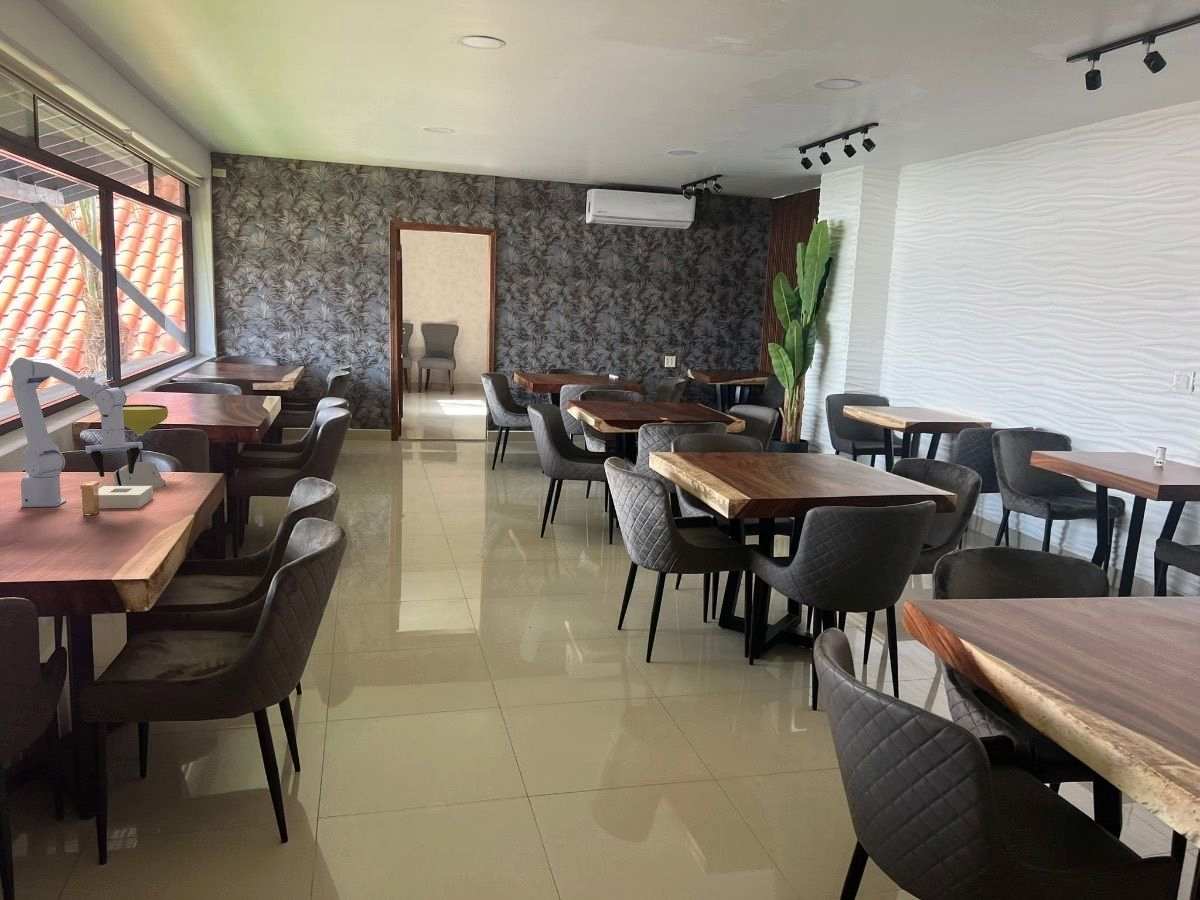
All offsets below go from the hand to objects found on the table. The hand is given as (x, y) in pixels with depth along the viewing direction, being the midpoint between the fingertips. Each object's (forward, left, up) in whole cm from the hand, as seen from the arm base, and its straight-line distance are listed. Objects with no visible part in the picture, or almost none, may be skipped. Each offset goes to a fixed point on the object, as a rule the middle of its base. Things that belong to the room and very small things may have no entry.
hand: (116, 474), depth 247 cm
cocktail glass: (-8, +53, -11) cm, 54 cm away
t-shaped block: (-6, -5, -11) cm, 13 cm away
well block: (-2, +9, -11) cm, 14 cm away
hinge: (-3, +32, -11) cm, 34 cm away
